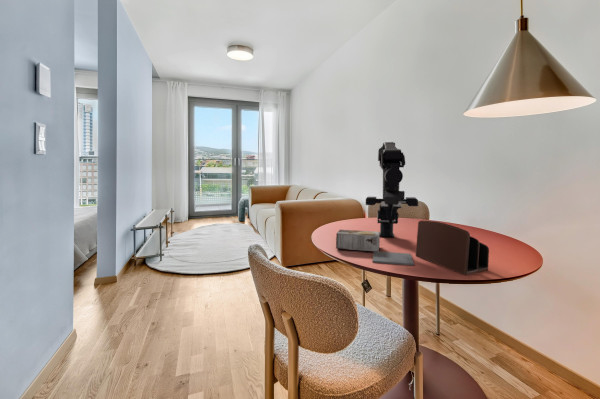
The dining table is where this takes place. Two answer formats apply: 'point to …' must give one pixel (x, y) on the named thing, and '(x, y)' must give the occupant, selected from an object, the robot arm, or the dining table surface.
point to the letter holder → (451, 248)
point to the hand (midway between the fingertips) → (390, 223)
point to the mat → (392, 258)
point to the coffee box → (358, 240)
